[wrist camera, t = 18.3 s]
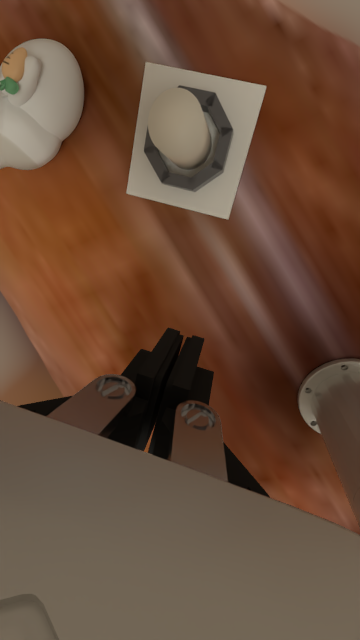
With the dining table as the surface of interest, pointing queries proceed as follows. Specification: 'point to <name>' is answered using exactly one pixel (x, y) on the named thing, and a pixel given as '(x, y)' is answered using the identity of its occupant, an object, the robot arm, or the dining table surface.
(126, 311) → the dining table surface
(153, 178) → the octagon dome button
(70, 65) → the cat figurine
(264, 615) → the robot arm
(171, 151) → the cream cap
